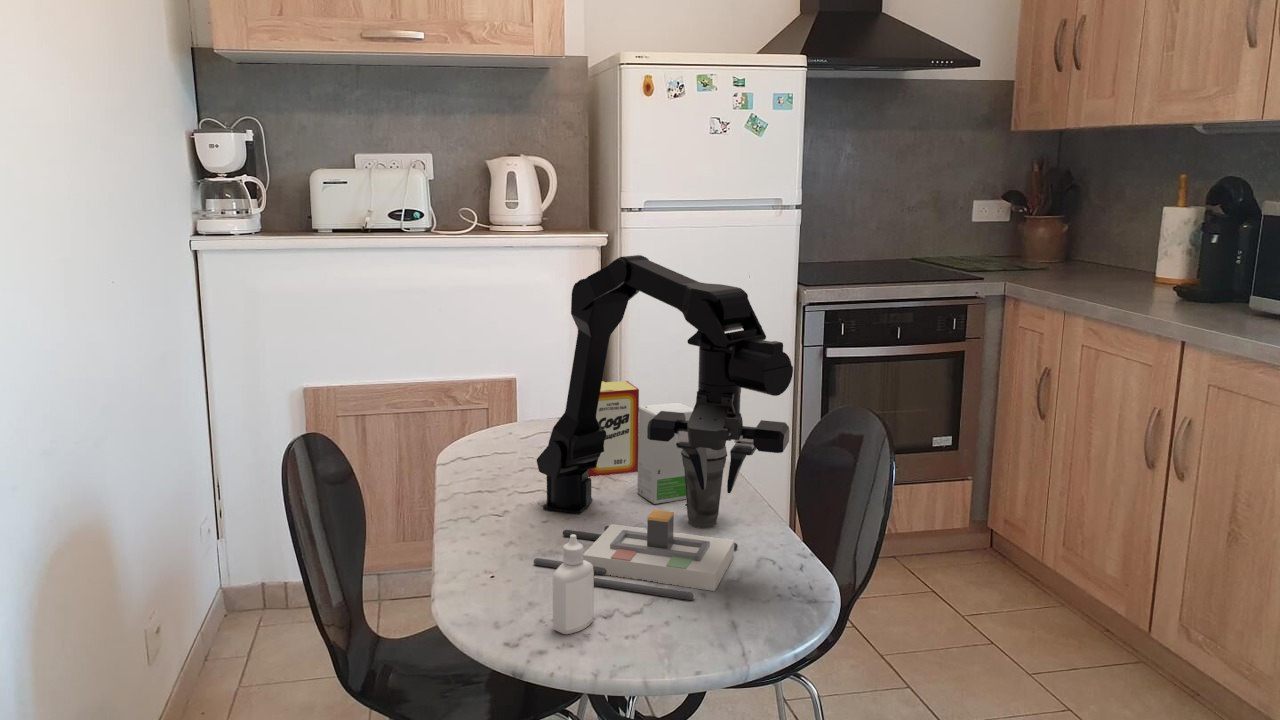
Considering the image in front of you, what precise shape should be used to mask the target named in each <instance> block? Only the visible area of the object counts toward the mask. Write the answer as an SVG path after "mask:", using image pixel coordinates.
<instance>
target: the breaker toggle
mask: <svg viewBox="0 0 1280 720" xmlns="http://www.w3.org/2000/svg"><path fill="white" fill-rule="evenodd" d="M674 515H675V513H674V511H669V510H668V511H667V510H660V509H652V511H651V512H650V513H649V514H648V515H647V519H646V521H647V523H646V524H647V528H646V529H647V546H648V547H655V548H662V549H670V548H671V547H672V545H673V532H674V525H675V524H674V523H675V522H674V517H675V516H674Z"/></svg>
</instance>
